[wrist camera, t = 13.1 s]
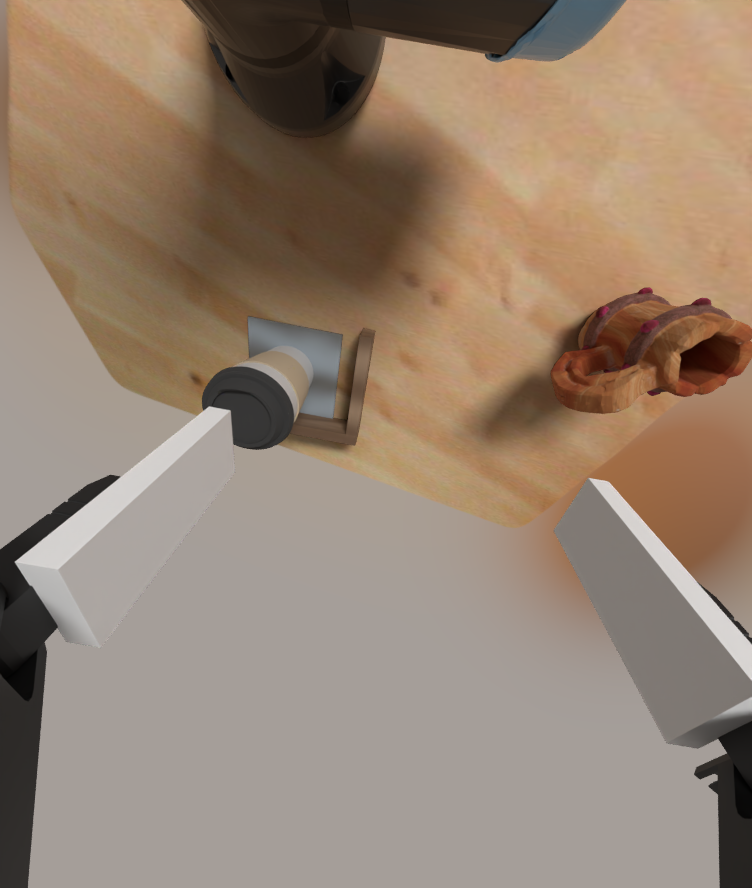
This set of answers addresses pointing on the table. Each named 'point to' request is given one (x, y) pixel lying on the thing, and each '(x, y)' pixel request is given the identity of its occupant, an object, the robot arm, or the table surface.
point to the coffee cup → (262, 395)
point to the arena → (319, 375)
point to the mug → (650, 353)
